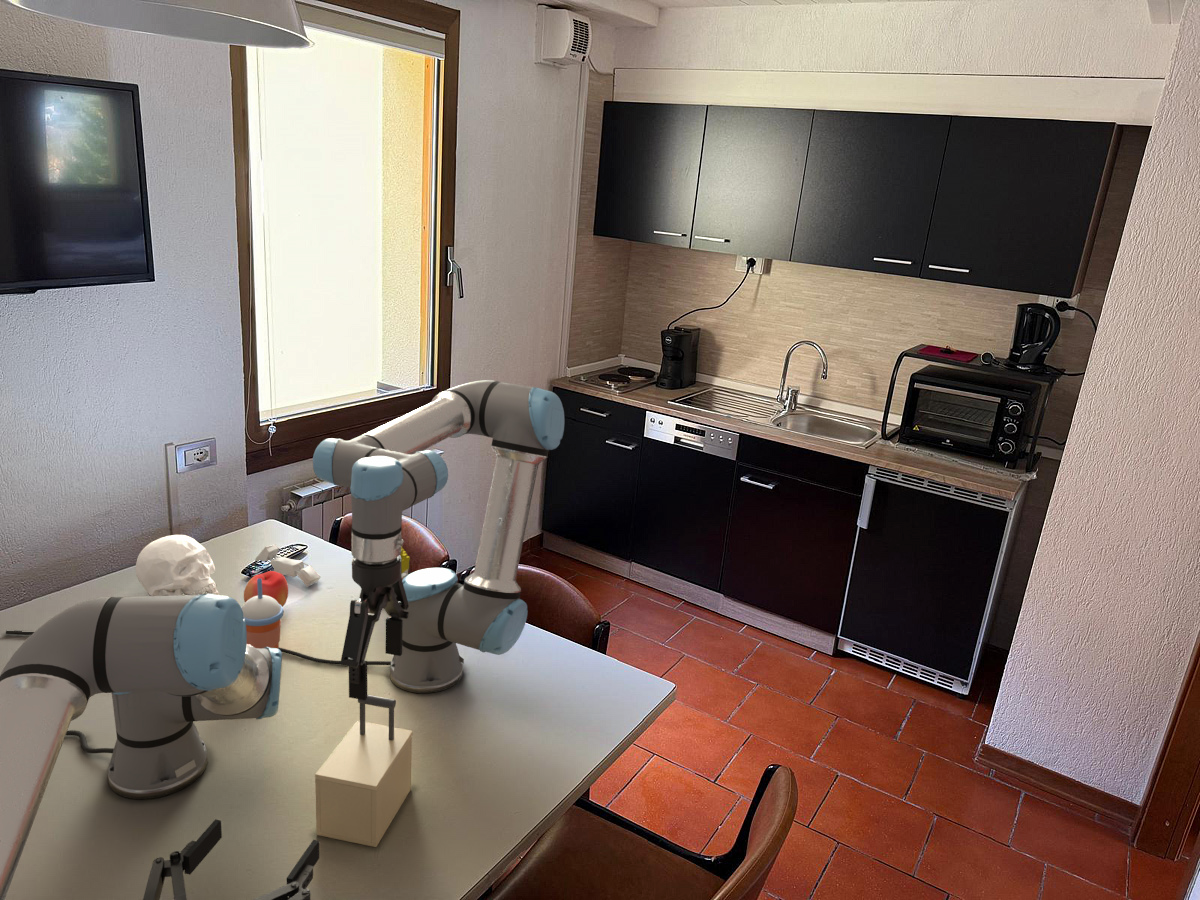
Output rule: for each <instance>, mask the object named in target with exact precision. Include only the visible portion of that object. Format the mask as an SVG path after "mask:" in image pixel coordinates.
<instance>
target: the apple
mask: <svg viewBox="0 0 1200 900" xmlns="http://www.w3.org/2000/svg"><path fill="white" fill-rule="evenodd" d="M259 578H261V579H262V595H267V596H270V597H272V598H274V599H275V600H276V601H277V602H278V603H279V604H280V605H281V606H282V607H283V608H284V606H285V605H286V603H287V600H288V597H289V584H288V581H287V579H286V577H285V575H282V574H281V573H278V572H275V571H268V570H267V571H266V572H264V573H259V574H255V575H254V576H253V577H251V578H250V579H249V580H248V582H247V583H246V585H245V587H244V590H243V601H244V603H245V602H246V601H248V600H249V599H250V598H252V597H254V596H258V587H257V579H259Z"/></svg>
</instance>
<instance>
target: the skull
mask: <svg viewBox="0 0 1200 900" xmlns="http://www.w3.org/2000/svg"><path fill="white" fill-rule="evenodd" d="M215 572H216V567H215V563H214V561H213V559H212V557H211V555H210V553H209V551H208V550H207V548H206V547H204V546H203V545H202V544H201V543H199V542H198V541H197V540H196V539H195V538H193V537H191V536H188V535H186V534H171V535H166V536H162V537H159V538H157V539H155V540H153V541H151V542H149V543H148V544H147V545H146V546H144V547H143V548H142V550H141V551H140V552H139V554H138V555H137V559H136V562H135V574H136V577H137V580H138V582H139V584H140V585H141V586H142V588H143V589H144V590H145V592H146V593H147V594H148V595H149V596H182V595H200V594H215V595H220V593H219V590H217V584H216V582H215V581H214V580H213V579H212V577H211V574H214V573H215ZM206 592H207V593H206Z"/></svg>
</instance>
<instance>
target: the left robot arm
mask: <svg viewBox="0 0 1200 900" xmlns="http://www.w3.org/2000/svg"><path fill="white" fill-rule="evenodd" d="M34 631H35V632H34V633H33V634H32V635H29V636H28V637H27V639H25V641H23V643H21V645H20V646H19V647H18V648H17V650H16V651H14V653H13V654H12V656H11V657H10V659H9V660H8V661H7V662H6V664H5V666H3V669H2V671H1V672H0V900H6V897H7V895H8V891H9V890H10V886H11V884H12V881H13V878H14V875H15V873H16V870H17V867H18V865H19V862H20V859H21V857H22V854H23V851H24V848H25V846H26V843H27V841H28V838H29V835H30V833H31V830H32V828H33V824H34V822H35V819H36V816H37V814H38V811H39V809H40V805H41V803H42V800H43V797H44V795H45V792H46V789H47V786H48V784H49V781H50V780H51V779H50V778H51V776H52V773H53V770H54V768H55V765H56V762H57V760H58V757H59V754H60V751H61V749H62V746H63V743H64V741H65V738H66V736H76V737H78V738H79V740H80V744H81V748H82V749H83V750H84V751H85V752H86V753H89V754H101V753H102V754H111V757H110V761H109V763H108V766H107V767H108V768H107V778H108V785H109V787H110V788H111V790H112V791H113V792H114V793H115V794H117V795H119V796H121V797H125V798H128V799H136V800H149V799H155V798H160V797H165V796H168V795H171V794H175V793H176V792H178V791H180V790H182V789H184V788H186V787H188V786H189V785H191V784H193V783H194V782H195V781H196V780H198V778H200V777H201V775H202V774H203V773H204V772H205V771H206V768H207V765H208V763H209V762H208V760H209V759H208V749H207V745H206V744H205V741H204V740H203V739H202V737H201V736H200V733H199V731H198V729H197V727H196V725H195V723H194V722H205V721H208V722H209V721H229V720H231V721H232V720H250V719H251V720H252V719H255V720H262V719H264V718H272V717H274V716H276V715H277V713H278V711H279V703H280V691H281V678H282V677H281V676H282V660H283V652H281V650H280V649H277V648H270V647H264V648H255V647H253V646H251V645H248V644H247V632H246V623H245V620H244V619H243V611H242V606H241V604H240V603H239V602H238V601H237V600H236V599H235V598H234V597H231V596H228V595H222V594H221V595H220V594H219V595H215V594H204V593H201V594H198V595H186V594H182V596H150V595H149V596H147V595H146V596H145V595H144V596H102V597H94V598H91V599H87V600H84V601H82V602H79V603H75V604H74V605H71V606H70V607H67V608H66V609H64V610H62V611H61V612H59V613H58V614H55V615H54V616H53V617H52V618H50V619H49V620H47V621H46V622H45V623H44V624H42V625H41V626H39V627H38V628H37V629H36V630H34ZM98 694H111V699H112V707H113V708H112V709H113V717H114V724H115V726H114V727H115V733H116V740H115V744H114V747H113V748H112V747H100V748H99V747H98V748H92V747H90V746H89V745H88V743H87V742H88V741H87V738H86V736H85V734H84V733H83V732H82V731H80V730H75V729H74V730H73V729H71V730H69V727H70V725H71V723H72V722H73V721H74V720H76V719H78V718H79V717H81V716H82V715H83V714H84V713H85V710H86V708H87V706H88V703H89V700H90V698H92V697H93V696H95V695H98ZM222 832H223V831H222V820H221V819H217V818H215V819H214V820H213V821H212V822H211V824H210V825H208V827H207V828H206V829H205V830H204V831H203V833H201V835H200V836H199V837H198V838H197V839H196V840H191V841H189V842H188V843H187V844H186V845H185V846H184V847H183V849H182V850H181V851H179V850H175V851H172V852H171V853H170V854H169V859H165V858H164V857H162V856H161V857H160V856H159V857H156V858H155V859H154V860H153V861H152V864H151V868H150V872H149V876H148V878H147V883H146V885H145V886H146V887H145V890H144V894H143V898H142V900H161V896H162V892H163V888H164V884H165V880H166V878H171V885H172V894H173V900H188V897H187V896H188V895H187V891H186V884H185V878H184V877H185V876H184V874H185V875H190V876H191V875H192V874H193V872H194V871H195V870H196V868H197V867H198V866H199V865H200V864H201V863H202V862H203V860H204V859H205V858H206V857H207V856H208V854H209V853H210V852H211V851H212V850H213V848H214V847H216V845H217V844H218V843H219V842H220V840H222V838H223V836H222V835H223V834H222ZM319 860H320V840H317V839H312V841H311V842H310V844H309V845H308V847H307V848H306V849H305V851H304V852H303V854H302V855H301V856H300V858H299V859H298V861H297V862H296V864H295V865H294V867H293V868H292V869H291V871H289V874H288V875H287V876H286V884H285V885H283V886H280V887H278V888H275V889H274V890H272V891H269V892H267V893H264V894H262V895H261V896H258V897H256V898H253V899H252V900H311V899H312V898H311V890H310V889H309V888H308V887H309V885H310V883H311V881H312V880H313V879H314V867H315V865H316V864H317V862H318V861H319Z"/></svg>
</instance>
